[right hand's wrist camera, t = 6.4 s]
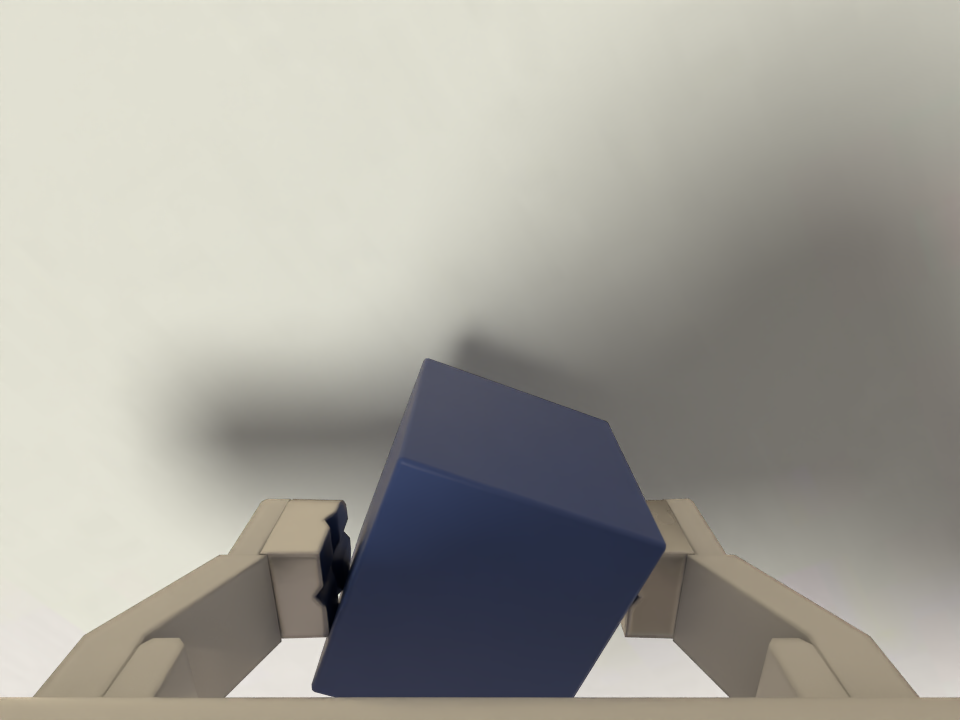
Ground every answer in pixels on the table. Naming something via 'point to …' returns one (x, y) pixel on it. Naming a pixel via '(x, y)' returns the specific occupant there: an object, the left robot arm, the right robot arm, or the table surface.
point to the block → (489, 550)
